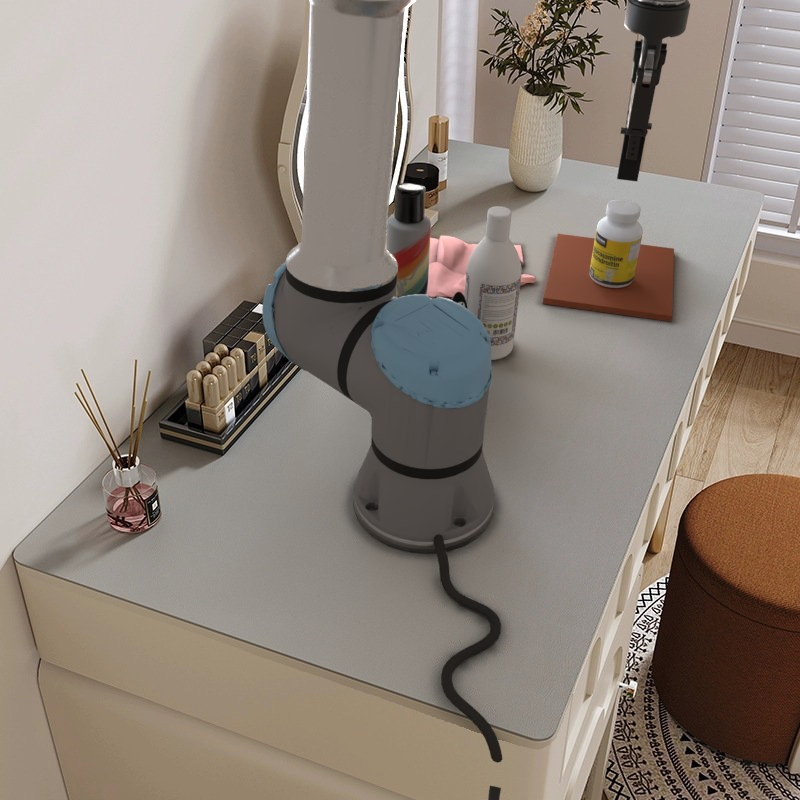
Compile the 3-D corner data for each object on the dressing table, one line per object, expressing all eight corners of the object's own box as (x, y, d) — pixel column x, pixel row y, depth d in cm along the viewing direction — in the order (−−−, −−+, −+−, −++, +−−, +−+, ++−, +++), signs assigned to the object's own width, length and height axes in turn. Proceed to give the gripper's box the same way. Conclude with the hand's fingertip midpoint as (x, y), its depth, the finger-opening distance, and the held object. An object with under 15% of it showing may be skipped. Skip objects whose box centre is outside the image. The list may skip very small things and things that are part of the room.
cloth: (370, 278, 151) (370, 263, 149) (447, 222, 165) (448, 208, 164) (491, 322, 142) (492, 307, 140) (561, 259, 157) (563, 245, 155)
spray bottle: (379, 325, 141) (381, 190, 128) (392, 304, 145) (396, 172, 133) (418, 333, 139) (424, 198, 127) (431, 312, 143) (438, 180, 131)
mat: (671, 321, 143) (672, 315, 143) (542, 303, 146) (543, 297, 146) (673, 254, 159) (674, 248, 158) (556, 238, 162) (557, 233, 161)
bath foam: (523, 350, 137) (540, 213, 125) (485, 368, 133) (498, 229, 121) (488, 327, 141) (500, 193, 129) (450, 344, 137) (459, 208, 125)
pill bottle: (580, 273, 151) (591, 201, 144) (615, 264, 154) (628, 192, 147) (606, 294, 147) (619, 220, 140) (642, 284, 149) (656, 211, 142)
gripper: (692, 15, 119) (654, 202, 133) (690, -15, 129) (656, 162, 143) (626, 9, 120) (596, 195, 134) (630, -20, 130) (602, 155, 144)
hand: (627, 177), depth 138 cm, fingers closed
